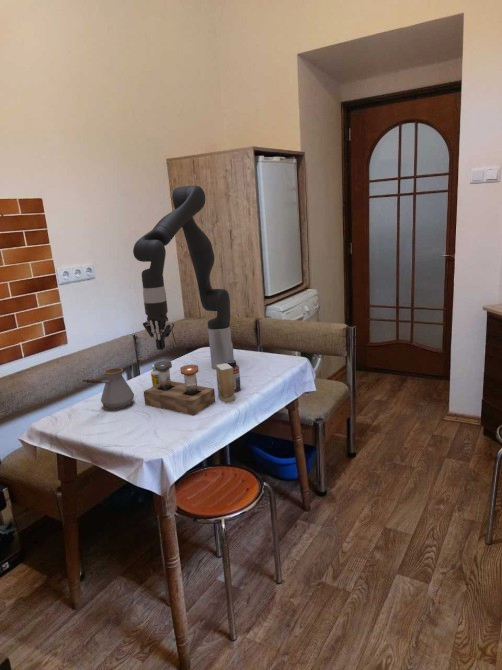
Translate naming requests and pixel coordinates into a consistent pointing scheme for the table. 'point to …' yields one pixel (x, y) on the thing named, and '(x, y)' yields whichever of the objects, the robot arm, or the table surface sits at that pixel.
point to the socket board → (179, 398)
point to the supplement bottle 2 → (235, 374)
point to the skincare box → (225, 382)
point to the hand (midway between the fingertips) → (161, 349)
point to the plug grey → (164, 374)
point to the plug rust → (190, 379)
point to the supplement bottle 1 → (154, 376)
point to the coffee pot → (114, 389)
